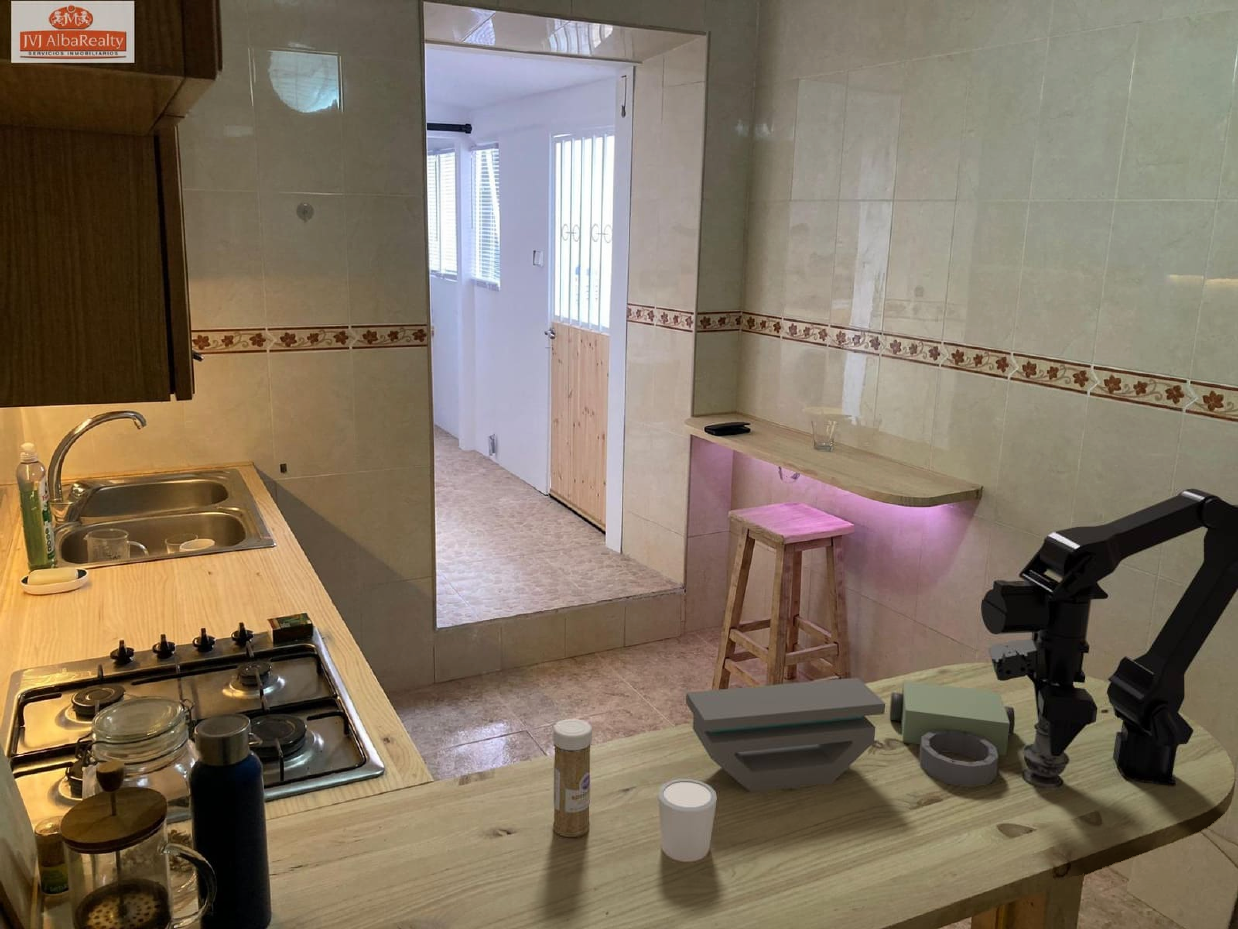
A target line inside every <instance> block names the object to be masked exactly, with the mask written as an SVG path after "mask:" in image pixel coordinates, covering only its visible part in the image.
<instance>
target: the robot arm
mask: <svg viewBox="0 0 1238 929" xmlns="http://www.w3.org/2000/svg"><path fill="white" fill-rule="evenodd" d="M1202 527H1203V528H1205V529H1207V530H1206V532H1205V534H1204V537H1203V539H1202V540H1203V562H1202V564H1201V566H1200V567H1199V569H1198V570H1197V572H1196V573H1195V575H1194V577H1193V578H1192V579H1191V581H1190V583H1189V585H1188V586H1187V588H1186V589H1185V591H1184V593H1183V594H1182V596H1181V598H1180V599H1179V600H1178V602H1177V603H1176V606H1175V607H1174V609H1173V610H1172V612H1171V614H1170V615H1169V616H1168V618H1167V620H1166V622H1165V623H1164V625H1163V627H1162V628H1161V630H1160V632H1159V633H1158V635H1157V637H1155V639H1154V641H1153V643H1152V644H1151V645H1150V647H1149V649H1148V651H1147V652H1146V653H1144V654H1141V655H1140V656H1138V657H1137V658H1134V659H1131V658H1130V657H1128V656H1123V658H1122V659H1120V660H1119V663H1118V666H1117V667H1116V670H1115V671H1114V672H1113V673H1112V675H1111V676H1109V677H1108V678H1107V681H1109V682H1110V683H1109V685H1108V687H1107V689H1106V690H1107V691H1106V695H1107V697H1108V702H1109V704H1110V705H1111V707H1112V708H1113V713H1114V716H1115V717H1116V718H1118V719H1120V720H1121V721H1122V723H1121V729H1120V731H1116V735H1115V741H1114V747H1113V748H1114V749H1113V754H1112V759H1113V761H1114V763H1115V765H1116V766H1117V768H1118V769H1119V771H1120V773H1121V775H1122V777H1123V778H1124V779H1127V780H1132V781H1140V782H1148V783H1155V784H1160V785H1161V784H1163V785H1168V786H1176V785H1177V779H1176V778H1175V776H1174V775H1173V774H1174V768H1175V761H1176V757H1177V750H1178V747H1179V746H1180V745H1187V744H1188V743H1189V741H1190V739H1191V737H1192V735H1193V733H1194V729H1193V727H1191V726H1192V725H1190V724H1189V723H1188V722H1187V720H1185V718H1184V717H1183V716H1182V715H1181V714H1180V713H1179V711H1180V709H1181V707H1182V704H1183V702H1184V700H1185V696H1186V695H1185V674H1186V672H1187V670H1188V669H1189V667H1190V666H1191V664H1192V663H1193V660H1194V659H1195V657H1196V656H1197V654H1198V653H1199V651H1200V650H1201V648H1202V647H1203V645H1204V643H1205V642H1206V640H1207V639H1208V637H1209V635H1210V634H1211V632H1212V630H1213V629H1214V628H1215V626H1216V625H1217V623H1218V621H1219V620H1220V618H1221V617H1222V615H1223V613H1224V612H1225V610H1226V608H1227V607H1228V605H1229V604H1230V602H1231V600H1232V599H1233V597H1234V595H1235V594H1236V593H1237V591H1238V504H1231V503H1229V502H1227V501H1225V500H1223V499H1222V498H1221V497H1219V496H1218V495H1215V494H1212V493H1209V492H1206V491H1204V490H1201V489H1198V488H1188V489H1183V490H1182V491H1180V492H1179V493H1178V495H1176V496H1172V497H1171V498H1168V499H1166V500H1163V501H1160V502H1157V503H1155V504H1152V505H1151V506H1148V507H1146V508H1145V507H1144V508H1143V509H1141V510H1138V511H1135V512H1134V513H1133V512H1132V513H1131V514H1128V515H1126V516H1123V517H1121V518H1117V519H1116V520H1113V521H1111V522H1109V523H1108V522H1107V523H1105V524H1099V525H1093V526H1092V525H1091V526H1074V527H1071V528H1065V529H1061V530H1056V531H1053V532H1051V533H1050V534H1048V535H1047V536H1046V537H1045V538H1044V539H1043V540H1044V541H1043V543H1042V545H1041V547H1040V548H1039V549H1038V551H1037V552H1036V553H1035V554H1034V556H1032V557H1031V559H1030V560H1029V561H1028V563H1027V564H1026V565H1025V566H1024V568H1023V569H1022V570H1021V572H1020V573H1019V574H1018V577H1019V578H1020V579H1022V580H1012V581H1011V580H1003V579H1000V580H999V579H997V580H994V581H993V584H992V589H989V590H987V592H985V595H984V597H983V599H981V603H980V605H981V606H980V612H981V618H982V621H983V624H984V626H985V628H986V629H987V630H988V632H989V634H992V635H1007V634H1009V635H1010V634H1028V633H1032V634H1031V638H1027V639H1017V640H1013V641H1008V642H1003V643H998V644H997V643H996V644H993V645H991V646H989V647H988V652H989V655H990V656H989V657H990V658H991V663H992V667H993V670H994V673H995V675H996V679H997V680H999V681H1002V682H1003V681H1005V682H1006V681H1010V680H1012V679H1017V678H1019V679H1020V678H1023V677H1026V676H1027V677H1028V678H1029V680H1030V681H1031V682H1032V683H1033V690H1034V698H1035V705H1036V712H1037V713H1036V715H1037V720H1038V719H1039V712H1040V714H1041V716H1042V717H1043V718H1044V719H1046V720H1047V721H1048V726H1049V742H1050V753H1051V755H1052V756H1058V757H1059V756H1061V754H1062V753H1063V752H1064V753H1065V750H1066V749H1067V748H1068V747H1069V746H1070V745H1071V743H1072V742H1073V741H1074V740H1075V739H1076V738H1077V736H1078V735H1079V734H1080V732H1082V731H1083V730H1084V729H1085V727H1086V726H1087V725H1091V724H1094V723H1095V722H1097V715H1098V706H1097V704H1096V702H1095V701H1094V698H1093V696H1092V695H1091V694H1090V692H1088V691H1087V689H1086V688H1083V687H1075V685H1074V683H1079V684H1080V683H1081V684H1085V682H1086V674H1085V672H1084V670H1083V666H1084V656H1085V654H1089V653H1090V644H1089V643H1088V641H1087V637H1088V636H1087V635H1088V628H1089V622H1090V620H1089V619H1090V612H1091V605H1092V600H1105V599H1108V597H1109V593H1107V592H1106V591H1105V590H1104V589H1103V588H1102V586H1100V585H1099V583H1098V582H1100V581H1101V580H1103V579H1104V578H1107V577H1108V576H1110V575H1111V574H1113V573H1114V572H1115V571H1116V569H1117V568H1118V566H1119V564H1120V563H1121V562H1123V561H1124V560H1126V559H1127V558H1129V557H1132V556H1133V555H1136V554H1138V553H1141V552H1143V551H1146V550H1148V549H1151V548H1154V547H1156V546H1159V545H1160V544H1163V543H1166V542H1168V541H1170V540H1173V539H1176V538H1179V537H1181V536H1183V535H1186V534H1188V533H1191V532H1193V531H1196V530H1198V529H1200V528H1202ZM1046 572H1050V573H1051V574H1053V575H1055V576H1056V577H1058V578H1060V579H1061V580H1060V581H1058V580H1056V579H1054V578H1053V577H1051V576H1049V575H1047V574H1046Z"/></svg>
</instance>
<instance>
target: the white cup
mask: <svg viewBox="0 0 1238 929" xmlns="http://www.w3.org/2000/svg"><path fill="white" fill-rule="evenodd" d="M657 793H658V794H657V795H658V808H659V809H658V810H659V811H658V812H659V826H660V827H659V828H660V829H659V830H660V840H661V842H660V843H661V850H662V851H663V853H664V854H665V855H666V856H667V857H668V858H670V859H672V860H675V861H679V862H683V863H684V862H688V863H689V862H693V863H694V862H696V861H700V860H701V859H703V858H705V857H706V856H707V855H708V853H709V851H710V844H711V839H712V833H713V825H714V818H715V813H716V808H717V799H718V797H717V793H716V790H714V789H713V787H712V786H711V785H709V784H707V783H705V782H703V781H701V780H697V779H691V778H677V779H674V780H669V781H667V782H666V783H664V784H661V786H660V788H659V789H658V791H657Z"/></svg>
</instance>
